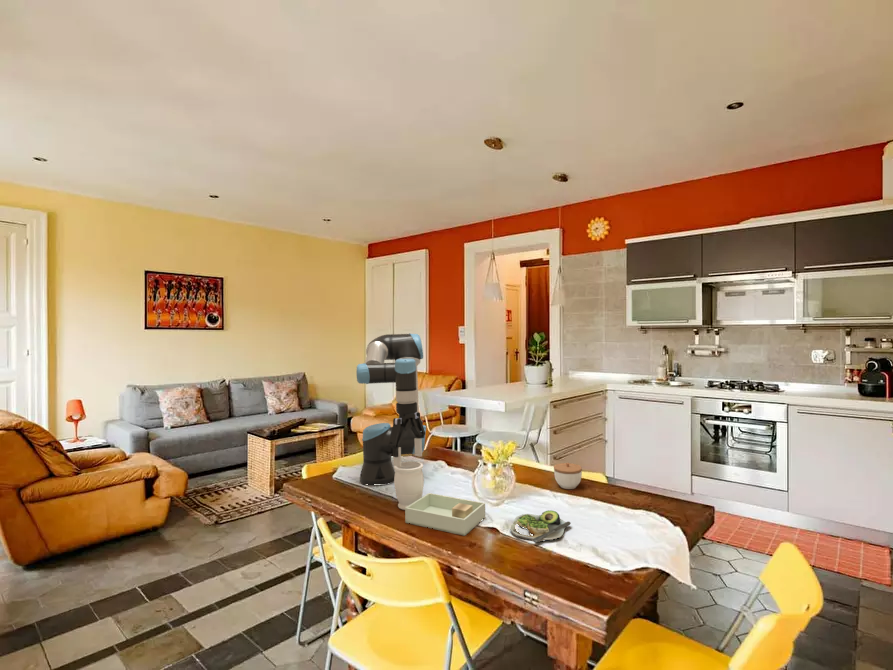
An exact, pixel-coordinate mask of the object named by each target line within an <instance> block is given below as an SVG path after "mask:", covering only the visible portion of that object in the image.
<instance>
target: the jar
mask: <svg viewBox="0 0 893 670" xmlns="http://www.w3.org/2000/svg"><path fill="white" fill-rule="evenodd" d="M393 467H394V471H395V476H394V482H393V486H394V489H395V490H394V491H395V496H396V499H397V502H398V504H397V507H398V509H400V510H403V511H405V508H406V507H407V506H409V505H411V504H412V503H414V502H415V501H417V500H418V499H420V498H422V497H423V492H424V484H425V482H424V481H425V479H424V473H423V469H424V463H422V462H420V461H401V466H394V465H393Z"/></svg>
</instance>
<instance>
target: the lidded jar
mask: <svg viewBox="0 0 893 670" xmlns="http://www.w3.org/2000/svg"><path fill="white" fill-rule="evenodd" d="M582 468H583V467H582V466H581V465H579V464H576V463H572V462H571V463H569V462H563V463H561V462H560V463H556V464H555V465H554V466H553V470H554V471H553V473H554V479H555V482H556V483H557V484H558V485H559V487H560V488H561V489H564V490H574V489H576V488H577V487H578V486H579V485H580V483H581V481H582V472H583V469H582Z"/></svg>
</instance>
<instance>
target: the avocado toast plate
mask: <svg viewBox="0 0 893 670" xmlns="http://www.w3.org/2000/svg"><path fill="white" fill-rule="evenodd" d="M571 523H572V522H570V521H564V520H563V519H562V518H560V514H559V513H558V512H557V511H555V510H552V509H551V510H545V511H543V512H542V514H539V515H537V514H531V513H525V514H520V515H517V516H516V517H515V518H514V520H513V522H512V524H511V526H510V528H509V529H510V532H511V534H513V535H515V536H516V537H518V538H520V539H522V540H525V539H529V540H528V541H532V540H533V542H534V543H541V542H540V541H543V540H550V541H554V540H553V539H555V540H558V539H557V538H559V539H561V537H563V535H564V533H565V532H564V531H565V529H566V528H567V527H569V526H570V525H571ZM516 524H518V525H519V526H522V527H524V528H527V529H528V530H527V529H526V530H527V531H528V532H529V533H531V534H533V536H528V535H529V534H522V533H521V532H520V531H519V532H520V533H521V534H520V533H519V532H517V531H516V529H515V525H516ZM524 528H523V529H524ZM543 542H544V541H543Z"/></svg>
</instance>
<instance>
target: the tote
mask: <svg viewBox="0 0 893 670" xmlns="http://www.w3.org/2000/svg"><path fill="white" fill-rule="evenodd" d="M459 503H462V504H467V505H472V506H473V512H472V513H470V514H469V515H468V516H467V517H465V518H464V519H462V518H457V517H452V508H453V507H454V506H456V505H457V504H459ZM404 512H405V513H404V514H405V515H404V516H405V518H404V519H405V520H404V522H405V523H406V524H409V523H410V524H409V525H414V526H419V527H422V528H427V527H428V529H432V528H433V529H432V530H438V531H441V532H447V533H451V534H454V535H460V536H462V537H463V536H467V534H469V533H470V532H471V531H472V530H474V528H476V526H477V525H479V524H480V523H481V522H482V521H483V520H484V519H483V518H484V517H485V518H486V502H481V501H475V500H469V499H465V498H458V497H453V496H448V495H443V494H437V493H430V492H428V493H426V494H425V495H422V498H420V499H418V500H417V501H415V502H414V503H412V504H411V505H409V506H407V507H406V508H405V510H404ZM482 519H483V520H482ZM481 520H482V521H481ZM480 521H481V522H480ZM479 522H480V523H479Z"/></svg>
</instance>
